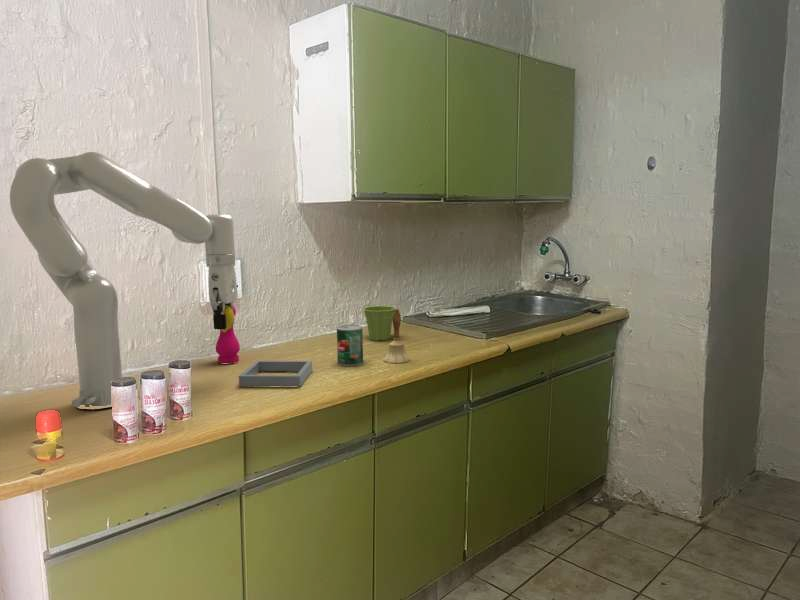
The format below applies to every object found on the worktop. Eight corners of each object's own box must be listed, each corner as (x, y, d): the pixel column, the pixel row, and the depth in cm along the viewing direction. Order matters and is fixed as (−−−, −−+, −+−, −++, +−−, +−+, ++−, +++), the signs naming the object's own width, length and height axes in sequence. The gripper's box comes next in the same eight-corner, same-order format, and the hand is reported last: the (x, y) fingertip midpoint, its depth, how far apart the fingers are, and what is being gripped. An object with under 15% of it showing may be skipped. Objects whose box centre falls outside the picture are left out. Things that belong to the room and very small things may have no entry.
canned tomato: (368, 361, 189) (367, 326, 188) (353, 367, 183) (352, 330, 181) (347, 358, 193) (346, 323, 192) (332, 363, 187) (331, 328, 185)
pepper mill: (216, 365, 186) (212, 300, 183) (216, 360, 193) (212, 297, 190) (240, 363, 188) (237, 299, 185) (240, 358, 195) (237, 295, 192)
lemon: (226, 329, 172) (225, 301, 171) (239, 331, 168) (237, 303, 167) (209, 332, 168) (208, 303, 166) (221, 335, 164) (220, 305, 163)
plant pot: (399, 336, 224) (399, 305, 223) (391, 343, 213) (390, 311, 211) (368, 335, 227) (368, 305, 226) (358, 341, 216) (358, 310, 214)
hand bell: (389, 356, 195) (389, 306, 193) (414, 358, 192) (413, 308, 190) (378, 362, 188) (378, 310, 185) (404, 364, 185) (403, 312, 182)
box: (300, 387, 163) (299, 376, 162) (239, 387, 164) (238, 376, 163) (312, 370, 179) (312, 360, 178) (256, 370, 180) (256, 360, 179)
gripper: (223, 263, 156) (227, 333, 159) (244, 257, 173) (247, 320, 176) (194, 263, 157) (198, 333, 159) (217, 258, 174) (221, 320, 176)
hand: (224, 326), depth 168 cm, fingers closed on lemon, 5 cm apart
